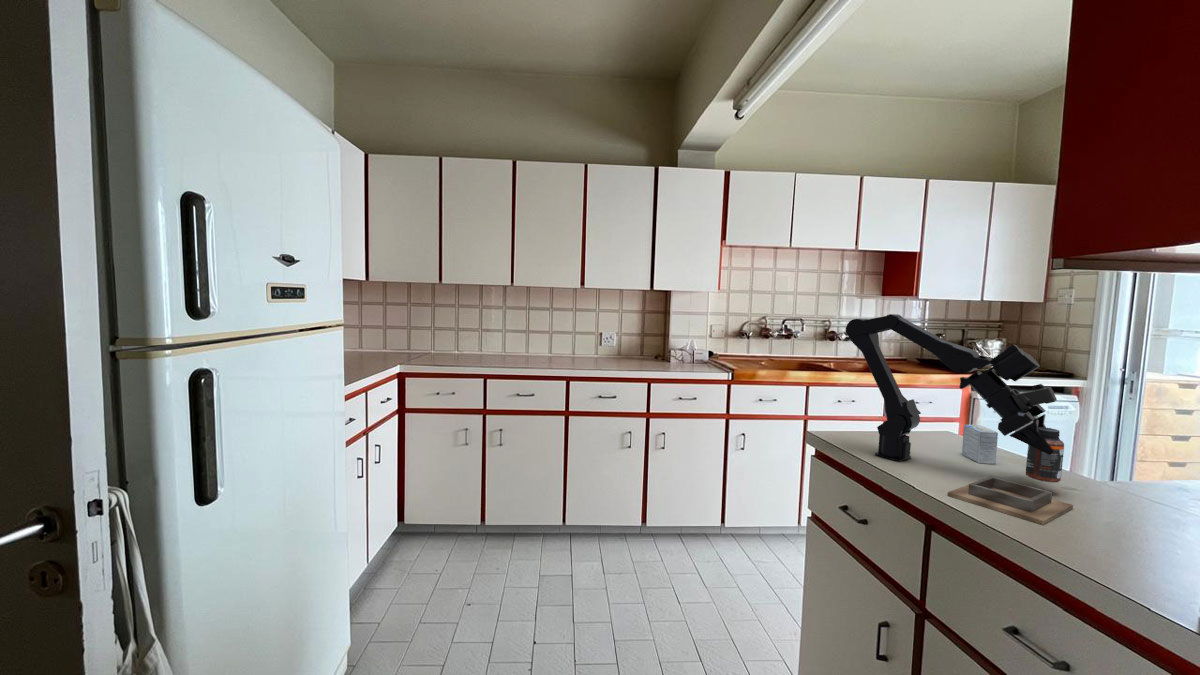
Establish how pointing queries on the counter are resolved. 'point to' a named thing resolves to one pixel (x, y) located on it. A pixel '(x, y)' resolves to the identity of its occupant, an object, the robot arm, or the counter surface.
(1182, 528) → the counter surface
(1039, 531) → the counter surface
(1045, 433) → the supplement bottle
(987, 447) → the medicine box
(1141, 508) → the counter surface
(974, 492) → the socket board
